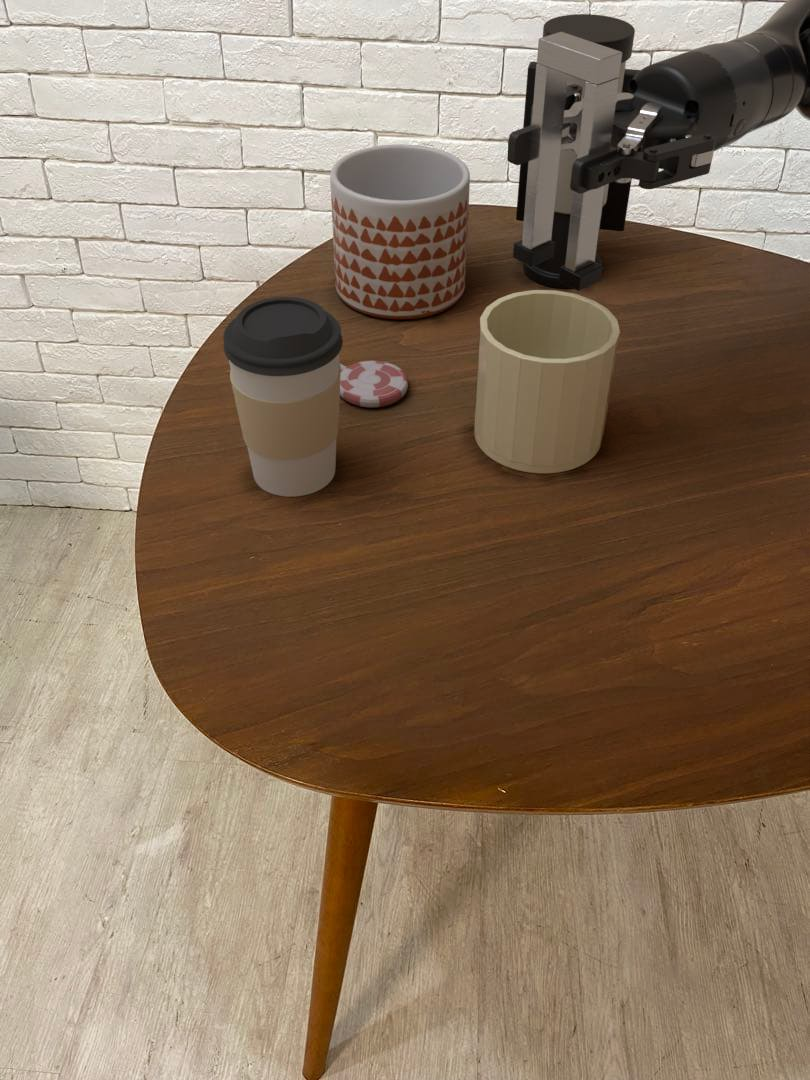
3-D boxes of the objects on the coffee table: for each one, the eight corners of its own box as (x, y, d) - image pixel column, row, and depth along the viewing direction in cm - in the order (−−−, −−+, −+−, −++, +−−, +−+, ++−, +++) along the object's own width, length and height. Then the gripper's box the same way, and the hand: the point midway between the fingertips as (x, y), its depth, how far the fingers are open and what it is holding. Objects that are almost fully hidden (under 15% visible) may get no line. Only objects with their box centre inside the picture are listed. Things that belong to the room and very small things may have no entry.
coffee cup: (231, 449, 91) (210, 293, 80) (333, 430, 93) (324, 276, 82) (252, 515, 84) (231, 355, 74) (360, 493, 86) (355, 335, 76)
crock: (613, 411, 95) (631, 303, 87) (586, 485, 87) (603, 373, 80) (493, 387, 98) (501, 280, 90) (457, 457, 90) (462, 346, 82)
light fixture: (500, 282, 112) (518, 36, 95) (515, 236, 120) (534, 2, 103) (614, 295, 110) (652, 46, 93) (621, 247, 118) (658, 10, 101)
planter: (334, 323, 106) (328, 202, 97) (336, 258, 116) (331, 144, 107) (469, 320, 106) (475, 200, 98) (460, 256, 116) (464, 142, 108)
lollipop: (308, 320, 104) (422, 376, 97) (308, 329, 105) (422, 386, 97) (258, 347, 100) (373, 408, 93) (260, 356, 101) (374, 417, 94)
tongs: (512, 257, 80) (528, 36, 69) (535, 247, 81) (555, 28, 71) (578, 291, 76) (606, 63, 66) (601, 280, 78) (633, 54, 67)
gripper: (631, 28, 81) (472, 78, 73) (790, 78, 73) (631, 141, 65) (618, 125, 86) (468, 182, 78) (765, 181, 78) (615, 252, 70)
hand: (543, 163), depth 72 cm, fingers closed on tongs, 5 cm apart
